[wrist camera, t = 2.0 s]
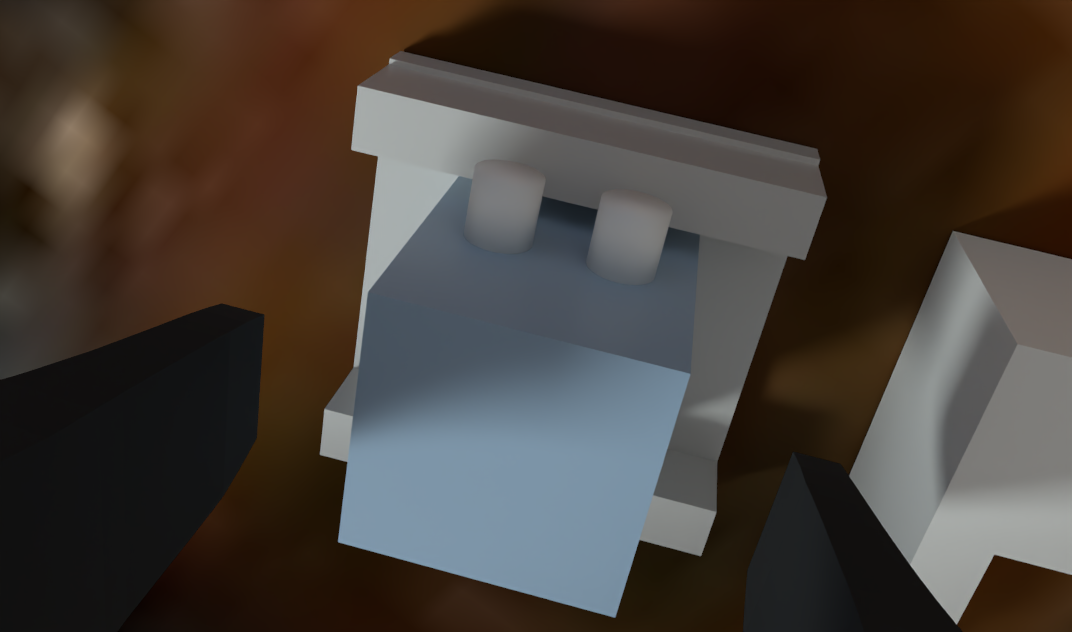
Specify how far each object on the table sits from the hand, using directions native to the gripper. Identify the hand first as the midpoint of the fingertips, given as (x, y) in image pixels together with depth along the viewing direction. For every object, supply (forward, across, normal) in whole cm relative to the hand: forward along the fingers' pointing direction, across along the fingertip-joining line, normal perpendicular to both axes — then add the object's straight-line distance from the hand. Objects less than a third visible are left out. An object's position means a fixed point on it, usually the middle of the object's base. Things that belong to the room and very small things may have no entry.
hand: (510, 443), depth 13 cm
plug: (+5, 0, 0) cm, 5 cm away
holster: (+5, 0, 0) cm, 5 cm away
